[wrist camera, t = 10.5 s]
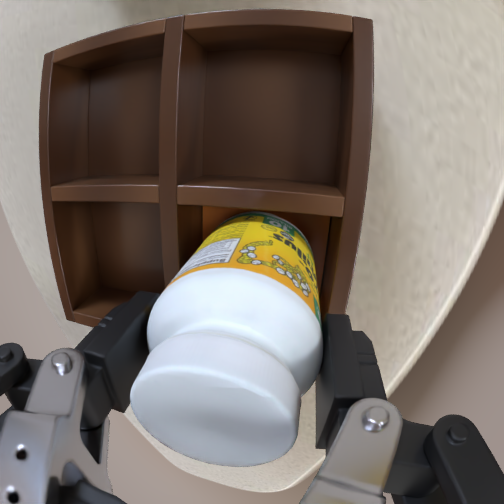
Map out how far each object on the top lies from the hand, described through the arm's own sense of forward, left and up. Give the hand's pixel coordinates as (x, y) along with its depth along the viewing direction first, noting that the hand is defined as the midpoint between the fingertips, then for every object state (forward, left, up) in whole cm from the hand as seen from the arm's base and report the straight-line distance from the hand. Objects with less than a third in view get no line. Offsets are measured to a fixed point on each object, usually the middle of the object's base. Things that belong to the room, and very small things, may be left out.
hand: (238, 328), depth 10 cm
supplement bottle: (0, 0, -6) cm, 6 cm away
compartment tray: (-4, +4, -7) cm, 9 cm away
